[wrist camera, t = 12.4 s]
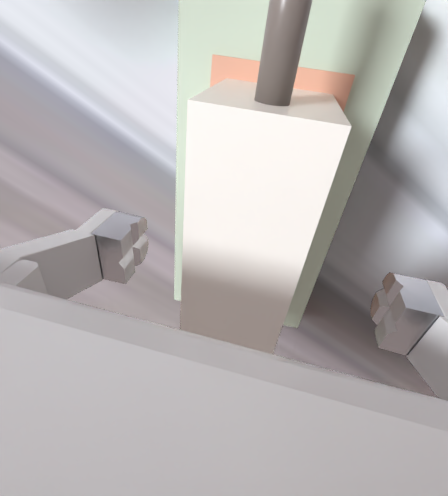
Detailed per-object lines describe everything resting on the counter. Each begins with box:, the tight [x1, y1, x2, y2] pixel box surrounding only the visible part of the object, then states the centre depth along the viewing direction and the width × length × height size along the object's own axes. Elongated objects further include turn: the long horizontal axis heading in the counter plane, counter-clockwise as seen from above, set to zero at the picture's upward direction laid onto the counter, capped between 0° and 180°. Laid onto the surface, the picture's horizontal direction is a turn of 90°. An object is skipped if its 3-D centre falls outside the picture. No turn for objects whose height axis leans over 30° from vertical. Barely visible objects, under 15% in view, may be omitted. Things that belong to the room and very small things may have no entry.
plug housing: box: [180, 0, 352, 354], centre depth 11 cm, size 4×14×5 cm, turn 174°
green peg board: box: [174, 0, 426, 328], centre depth 14 cm, size 8×16×5 cm, turn 174°
